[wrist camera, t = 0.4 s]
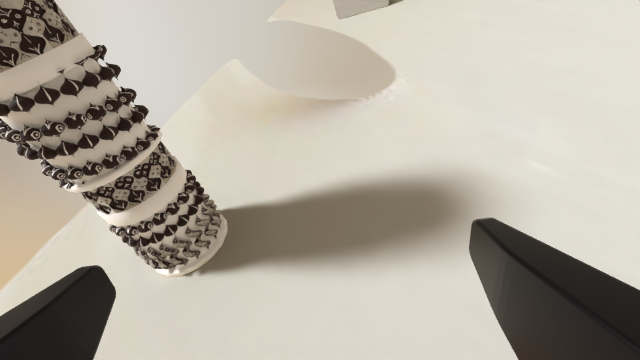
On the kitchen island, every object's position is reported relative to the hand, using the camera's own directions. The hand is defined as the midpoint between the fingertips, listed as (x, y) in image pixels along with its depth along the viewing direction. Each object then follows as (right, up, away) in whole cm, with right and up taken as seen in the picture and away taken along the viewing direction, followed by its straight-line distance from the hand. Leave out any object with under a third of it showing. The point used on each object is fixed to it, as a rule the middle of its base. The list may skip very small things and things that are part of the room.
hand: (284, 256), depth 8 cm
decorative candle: (-13, -5, +27) cm, 30 cm away
